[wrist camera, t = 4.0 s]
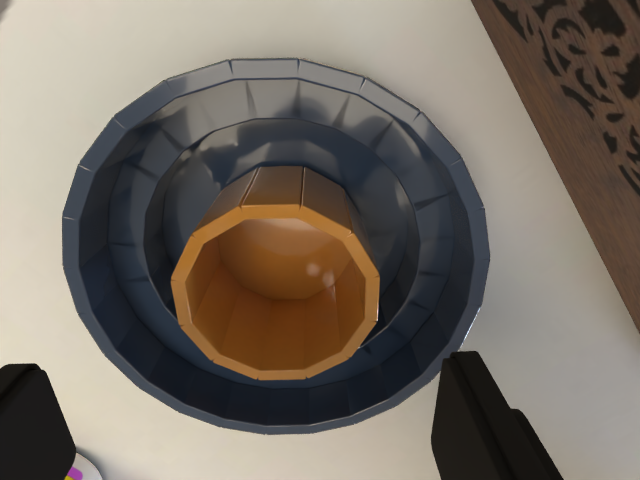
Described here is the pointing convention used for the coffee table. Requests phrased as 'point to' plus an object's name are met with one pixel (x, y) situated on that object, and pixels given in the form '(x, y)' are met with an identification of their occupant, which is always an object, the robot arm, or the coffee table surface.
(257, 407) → the serving bowl
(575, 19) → the tissue box cover
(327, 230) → the small bowl
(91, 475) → the supplement bottle
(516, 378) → the coffee table surface
